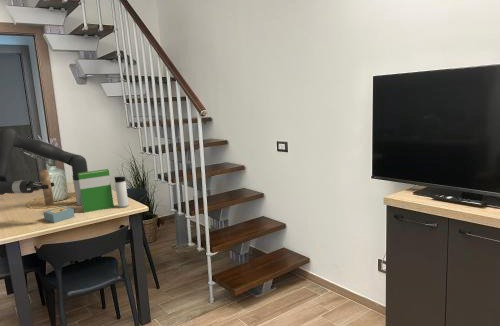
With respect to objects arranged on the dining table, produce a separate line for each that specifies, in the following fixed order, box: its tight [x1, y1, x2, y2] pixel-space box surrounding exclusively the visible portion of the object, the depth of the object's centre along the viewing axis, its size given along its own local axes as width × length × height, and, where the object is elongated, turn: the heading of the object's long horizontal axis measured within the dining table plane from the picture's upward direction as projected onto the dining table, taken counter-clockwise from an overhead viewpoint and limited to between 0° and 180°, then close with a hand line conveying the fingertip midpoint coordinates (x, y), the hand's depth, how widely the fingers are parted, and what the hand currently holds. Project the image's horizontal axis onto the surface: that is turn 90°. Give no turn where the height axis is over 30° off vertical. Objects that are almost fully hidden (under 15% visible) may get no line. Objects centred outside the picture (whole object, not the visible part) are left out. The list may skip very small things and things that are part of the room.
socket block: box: [43, 205, 75, 224], centre depth 221 cm, size 12×12×5 cm
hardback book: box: [78, 168, 115, 214], centre depth 235 cm, size 18×7×24 cm, turn 116°
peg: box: [39, 169, 55, 206], centre depth 212 cm, size 4×4×20 cm
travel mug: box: [114, 176, 130, 209], centre depth 236 cm, size 6×7×20 cm
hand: (50, 185), depth 212 cm, fingers closed on peg, 4 cm apart
